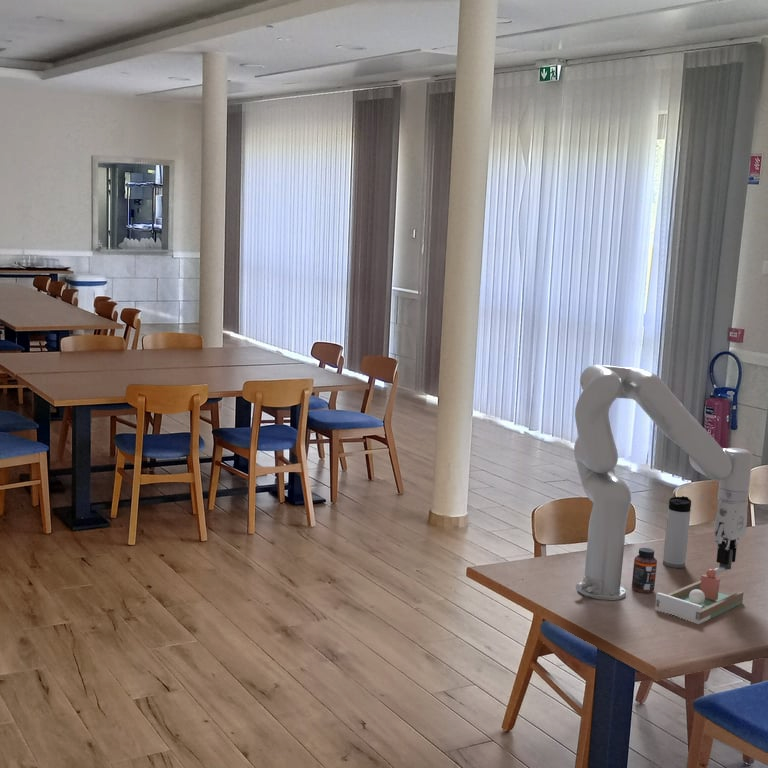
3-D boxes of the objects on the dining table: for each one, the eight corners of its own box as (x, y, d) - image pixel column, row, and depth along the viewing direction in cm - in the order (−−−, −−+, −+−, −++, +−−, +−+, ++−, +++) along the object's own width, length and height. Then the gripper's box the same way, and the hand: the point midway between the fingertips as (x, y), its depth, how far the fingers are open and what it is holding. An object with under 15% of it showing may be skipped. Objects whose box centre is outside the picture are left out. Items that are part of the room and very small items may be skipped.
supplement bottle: (652, 595, 272) (657, 554, 271) (630, 591, 274) (634, 550, 273) (655, 588, 278) (659, 548, 276) (632, 585, 280) (636, 545, 278)
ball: (699, 608, 262) (701, 593, 261) (685, 604, 264) (686, 589, 264) (707, 605, 264) (708, 590, 264) (692, 600, 267) (694, 585, 267)
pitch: (698, 624, 253) (700, 606, 253) (655, 610, 261) (656, 593, 261) (742, 603, 270) (744, 586, 270) (700, 590, 279) (701, 574, 278)
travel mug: (689, 565, 301) (696, 498, 298) (679, 569, 296) (685, 502, 293) (669, 559, 305) (675, 494, 302) (659, 564, 300) (665, 497, 297)
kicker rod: (714, 601, 267) (718, 558, 265) (698, 596, 270) (703, 553, 268) (732, 592, 274) (737, 550, 273) (717, 587, 277) (721, 546, 276)
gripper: (732, 502, 262) (725, 571, 265) (760, 493, 274) (752, 560, 277) (705, 496, 268) (698, 564, 270) (733, 487, 279) (726, 552, 282)
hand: (725, 561), depth 274 cm, fingers closed on kicker rod, 3 cm apart
